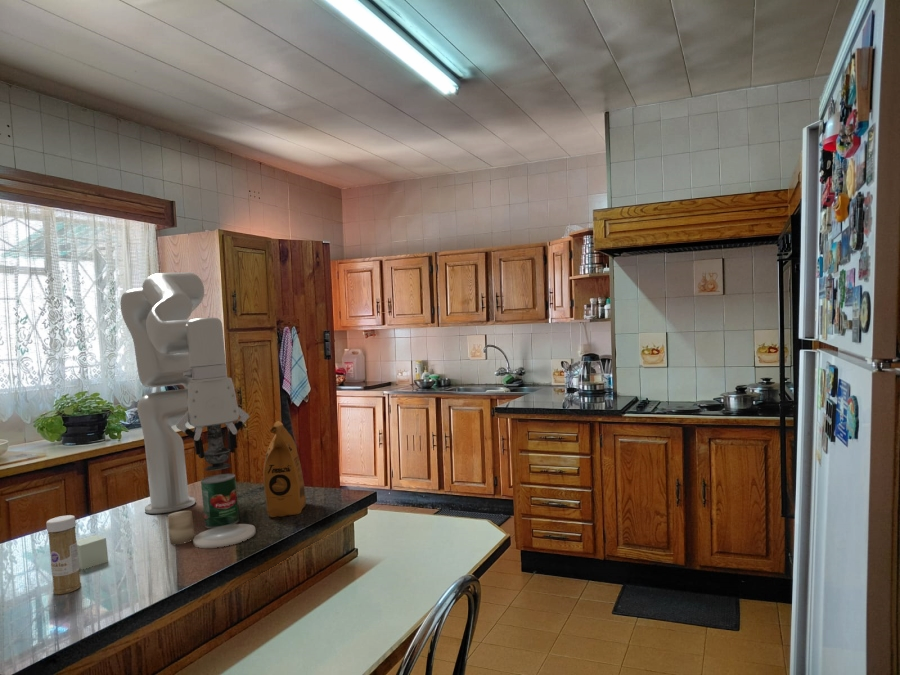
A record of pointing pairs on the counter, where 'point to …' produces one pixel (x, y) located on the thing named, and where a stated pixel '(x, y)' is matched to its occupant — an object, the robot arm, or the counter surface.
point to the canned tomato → (219, 500)
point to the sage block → (92, 551)
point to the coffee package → (283, 475)
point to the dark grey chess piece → (216, 449)
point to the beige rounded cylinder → (180, 527)
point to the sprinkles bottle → (63, 554)
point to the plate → (224, 536)
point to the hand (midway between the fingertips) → (216, 453)
